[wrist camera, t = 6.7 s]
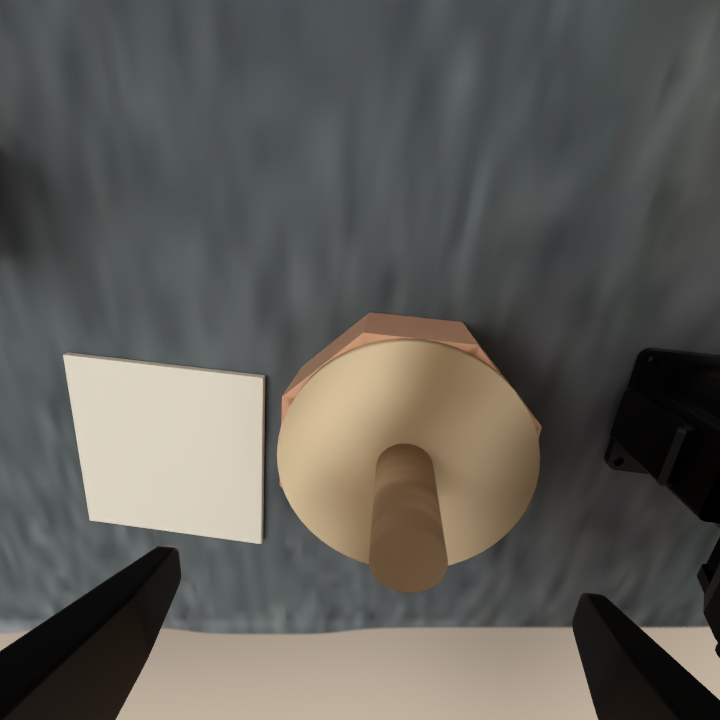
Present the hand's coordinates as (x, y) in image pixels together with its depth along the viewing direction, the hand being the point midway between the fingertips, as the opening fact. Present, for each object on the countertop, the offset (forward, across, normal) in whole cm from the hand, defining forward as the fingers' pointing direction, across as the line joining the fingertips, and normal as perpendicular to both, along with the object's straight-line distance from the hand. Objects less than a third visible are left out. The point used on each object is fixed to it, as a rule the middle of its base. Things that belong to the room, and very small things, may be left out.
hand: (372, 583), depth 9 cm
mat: (+13, +12, +6) cm, 18 cm away
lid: (+9, -1, +2) cm, 9 cm away
